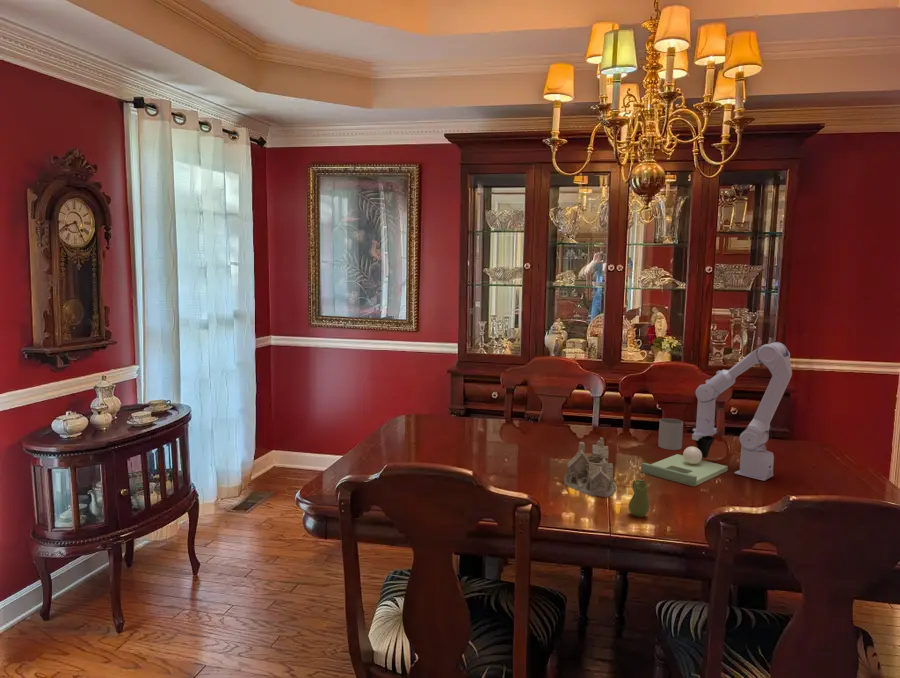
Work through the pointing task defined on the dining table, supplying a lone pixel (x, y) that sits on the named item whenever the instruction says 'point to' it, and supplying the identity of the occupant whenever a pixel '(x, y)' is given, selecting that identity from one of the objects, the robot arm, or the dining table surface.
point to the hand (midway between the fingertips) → (703, 456)
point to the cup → (670, 434)
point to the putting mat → (683, 470)
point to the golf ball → (692, 455)
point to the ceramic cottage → (591, 471)
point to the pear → (639, 499)
